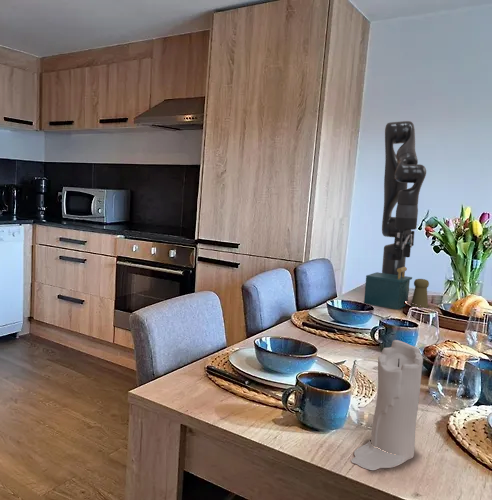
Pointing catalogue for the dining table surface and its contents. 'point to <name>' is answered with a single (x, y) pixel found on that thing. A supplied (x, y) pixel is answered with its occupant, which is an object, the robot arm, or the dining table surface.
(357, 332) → the dining table surface
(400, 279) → the bin lid
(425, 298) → the cork
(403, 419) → the candle
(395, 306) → the bin
